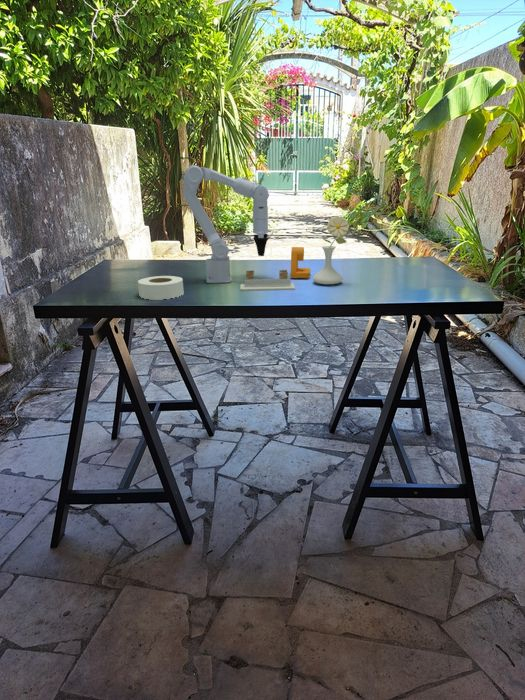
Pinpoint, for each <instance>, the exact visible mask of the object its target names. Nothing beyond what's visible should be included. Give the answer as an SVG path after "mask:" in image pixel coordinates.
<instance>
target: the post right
mask: <svg viewBox="0 0 525 700" xmlns="http://www.w3.org/2000/svg"><path fill="white" fill-rule="evenodd" d="M278 271H279V273H278V274H279V275H278V277H279V278H278V279H289V274H288V273H289V272H288V269H279V270H278Z"/></svg>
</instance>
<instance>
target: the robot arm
mask: <svg viewBox="0 0 525 700" xmlns="http://www.w3.org/2000/svg"><path fill="white" fill-rule="evenodd" d="M183 175H184V176H183V183H182V184H183V185H182V196H183V199H184V201H185V202H186V204H187V206H188V208H189V209H190V211H191V213H192V215H193V217H194V218H195V220H196V222H197V223H198V225H199V227H200V229H201V230H202V232H203V234H204V235H205V237H206V239H207V241H208V243H209V245H210V248H211V252H212V256H210V258H206V259H205V278H206V283H207V284H210V283H211V284H215V283H216V284H218V283H220V284H223V283H228V284H229V283H232V280H233V279H232V278H233V277H231V266H230V261H231V260H230V256H228V255H229V252H230V250H229V249H230V248H229V246H228V244H227V243H226V241H225V240H223V239H222V238H221V237H220V235H219V233H218V231H217V230H216V228H215V226H214V224H213V223H212V221H211V220H210V218H209V217H210V216H208V213H207V212H206V211H205V208H204V207H203V205H202V203H201V202H200V200H199V198H198V196H197V192H198V188H199V185H200V183H202V181H204V182H206V181H214V182H217V183H220V184H222V185H226V186H228V187H231V188H232V191H233V193H235V194H238V195H241V196H243V197H246V198H248V199H250V198H252V228H253V229H252V233H253V240H254V242H255V246H256V250H257V251H256V252H257V255H258V257H264V256H265V251H266V245H267V244H268V240H269V237H268V235H269V234H268V233H272V230H271V229H269V217H268V216H269V214H268V212H269V209H268V208H269V207H268V199H269V196H270V193H269V191H268V189H267V188H266V187H265V186H263V185H261V184H259V183H258V182H257V181H256V182H253V181H251V180H248V179H247V177H244V176H242V177H240V176H239V177H236V178H233V177H230V176H228V175H225V174H223V173H221V172H219V171H216V170H214V169H212V168H208V167H203V166H201V167H200V166H199V165H195V164H193V165H190V166H188V167H187V168H186V170H185V173H184V174H183Z"/></svg>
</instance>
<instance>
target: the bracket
mask: <svg viewBox="0 0 525 700" xmlns="http://www.w3.org/2000/svg"><path fill="white" fill-rule="evenodd" d="M290 251H291V253H290V278H291V279H310V277H309V276H311V268H310V267H299V261H300V262H304V261H305V247H304V246H292V247H291V250H290Z"/></svg>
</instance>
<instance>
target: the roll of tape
mask: <svg viewBox="0 0 525 700" xmlns="http://www.w3.org/2000/svg"><path fill="white" fill-rule="evenodd" d="M137 288H138V295H139V296H140V297H141V298H140V297H139V296H138V297H139V298H140V299H142V298H144V299H143V300H146V299H149V300H148V301H164V300H163V299H167V300H171V299H170V298H173V299H176V298H175V297H177V298H180V297H182V296H183V295H184V294H185V293H184V292H185V291H184V280H183V277H180V276H177V275H176V276H174V275H159V276H158V275H157V276H149V277H144V278H141V279H138V280H137ZM181 295H182V296H181ZM179 296H180V297H179Z"/></svg>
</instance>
